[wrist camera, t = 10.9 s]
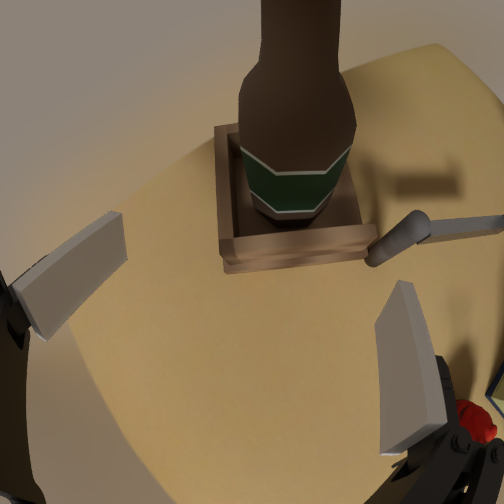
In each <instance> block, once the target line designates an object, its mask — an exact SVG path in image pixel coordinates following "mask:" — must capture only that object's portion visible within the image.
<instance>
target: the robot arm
mask: <svg viewBox="0 0 504 504" xmlns="http://www.w3.org/2000/svg"><path fill="white" fill-rule="evenodd" d="M126 260H128V259H127V252H126V245H125V237H124V228H123V219H122V213H119V212H114V211H110V212H108V213H107V214H105V215H104V216H102V217H101V218H99V219H98V220H96V221H94V222H93V223H92V224H90V225H89V226H87V227H86V228H84V229H83V230H82V231H80V232H78V233H77V234H76V235H74V236H73V237H71V238H70V239H69V240H67V241H66V242H64V243H63V244H62V245H60V246H59V247H58V248H56V249H55V250H54V251H52V252H51V253H50V254H48V255H46V256H44V257H43V258H42V259H40V260H39V261H38V262H37V263H35V264H34V265H33V266H32V267H31V268H29V269H28V270H27V271H26V272H24V273H23V274H22V275H21V276H20V277H19V278H17V279H16V280H15V281H14V282H13V283H12V284H10V285H9V286H8V287H7V285H6V283H5V280H4V278H3V276H2V273H1V271H0V495H1V496H3V497H6V498H7V499H9V500H10V502H11V503H12V504H46V501H45V498H44V495H43V493H42V491H41V489H40V488H39V486H38V485H37V484H36V483H35V481H34V479H33V474H32V469H31V462H30V455H29V447H28V436H27V421H26V378H27V361H28V351H29V342H30V331H29V329H28V328H29V327H30V326H32V327H33V329H34V331H35V333H36V334H37V335H38V336H39V337H40V338H41V339H43V340H44V341H46V342H47V341H48V340H49V339H50V338H51V337H52V336H53V335H54V334H55V332H56V331H57V330H58V329H59V328H60V327H61V326H62V325H63V324H64V323H65V321H66V320H67V319H68V318H69V317H70V316H71V315H72V314H73V313H74V312H75V311H76V310H77V309H78V308H79V307H80V306H81V305H82V304H83V302H84V301H85V300H86V299H87V298H88V297H89V296H90V295H91V294H92V293H93V292H94V291H95V290H96V289H97V288H98V287H99V286H100V285H101V284H102V283H103V282H104V281H105V280H106V279H107V278H109V277H110V276H111V275H112V274H113V273H114V272H115V271H116V270H117V269H118V268H119V267H120V266H121V265H122V264H123V263H124V262H125V261H126ZM374 325H375V334H376V344H377V355H378V368H379V385H380V455H399V454H400V453H402V452H404V451H406V450H407V449H408V456H407V457H406V458H404V459H402V460H400V461H398V462H396V463H395V464H394V465H392V466H391V467H392V468H394V467H396V466H398V465H399V466H398V467H397V468H396V469H395V470H394V472H393V473H392V474H391V475H390V476H389V477H388V479H387V480H386V481H385V482H384V483H383V484H382V485H381V486H380V487H379V489H378V490H377V491H376V492H375V493H374V494H373V495H372V496H371V497H370V498H369V499H368V500H367V501H366V502H365V503H364V504H496V501H497V498H498V494H499V491H500V487H501V483H502V479H503V475H504V441H503V440H501V439H500V438H495V439H492V440H491V441H489V442H488V443H487V444H483V443H480V442H476V441H473V440H472V437H471V434H470V432H469V431H468V430H467V429H466V428H464V427H462V426H460V423H459V417H458V411H457V405H456V400H455V395H454V390H452V389H453V385H452V381H450V380H451V376H450V372H449V368H448V366H447V364H446V362H445V361H444V359H443V357H442V356H437V355H435V354H434V350H433V346H432V342H431V339H430V335H429V331H428V328H427V325H426V321H425V318H424V315H423V312H422V309H421V306H420V303H419V300H418V297H417V294H416V291H415V288H414V285H413V283H410V282H406V281H402V280H398V281H397V283H396V285H395V287H394V289H393V291H392V293H391V295H390V297H389V299H388V301H387V303H386V305H385V306H384V308H383V310H382V312H381V314H380V316H379V317H378V319H377V321H376V323H375V324H374ZM468 485H469V486H468ZM466 486H468V489H467V491H466V493H464V489H465V487H466Z"/></svg>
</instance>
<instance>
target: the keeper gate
mask: <svg viewBox="0 0 504 504" xmlns="http://www.w3.org/2000/svg"><path fill="white" fill-rule="evenodd" d="M430 222H431V231H430V233H429V235H428V236H426V237H425V238H423V239H422V240H420V241H418V242H417V245H419V244H427V243H435V242H442V241H450V240H457V239H465V238H472V237H479V236H486V235H494V234H498V233H500V232H502V231H504V214H503V215H496V216H483V217H470V218H457V219H445V220H433V221H430Z"/></svg>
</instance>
